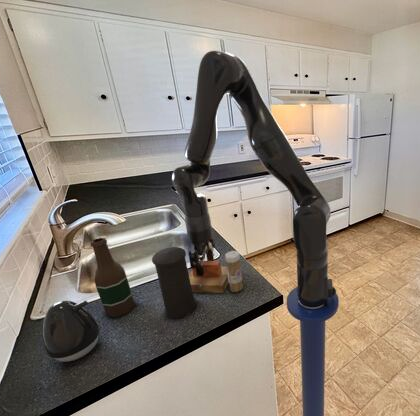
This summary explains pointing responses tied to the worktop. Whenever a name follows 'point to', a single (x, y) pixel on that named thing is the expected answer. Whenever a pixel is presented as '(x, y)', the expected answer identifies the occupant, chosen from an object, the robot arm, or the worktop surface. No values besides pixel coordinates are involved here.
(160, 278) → the container
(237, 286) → the sprinkles bottle
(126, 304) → the beer bottle
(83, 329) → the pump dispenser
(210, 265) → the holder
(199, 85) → the robot arm
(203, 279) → the holder base
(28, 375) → the worktop surface
